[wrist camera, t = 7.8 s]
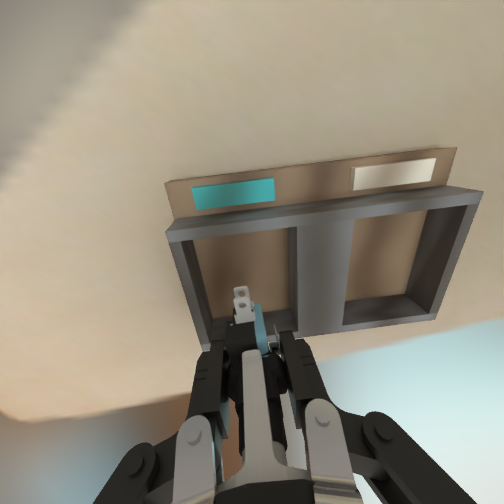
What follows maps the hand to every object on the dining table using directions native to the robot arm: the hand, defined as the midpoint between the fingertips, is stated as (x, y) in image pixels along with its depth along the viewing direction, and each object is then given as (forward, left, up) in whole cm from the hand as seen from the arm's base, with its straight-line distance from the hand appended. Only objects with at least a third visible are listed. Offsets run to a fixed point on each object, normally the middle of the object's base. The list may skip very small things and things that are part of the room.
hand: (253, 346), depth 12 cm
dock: (-6, -1, -10) cm, 11 cm away
